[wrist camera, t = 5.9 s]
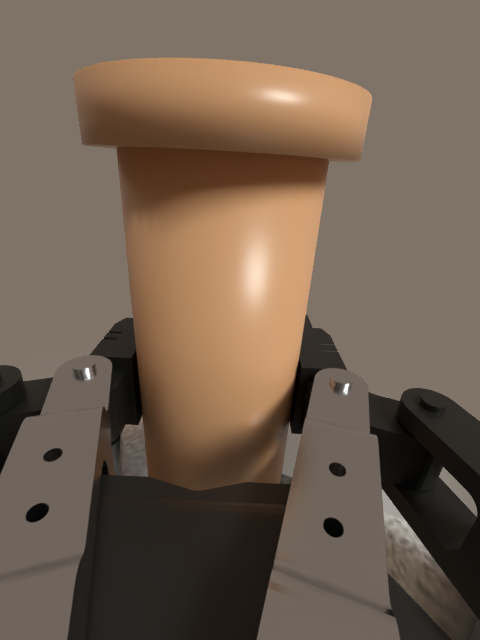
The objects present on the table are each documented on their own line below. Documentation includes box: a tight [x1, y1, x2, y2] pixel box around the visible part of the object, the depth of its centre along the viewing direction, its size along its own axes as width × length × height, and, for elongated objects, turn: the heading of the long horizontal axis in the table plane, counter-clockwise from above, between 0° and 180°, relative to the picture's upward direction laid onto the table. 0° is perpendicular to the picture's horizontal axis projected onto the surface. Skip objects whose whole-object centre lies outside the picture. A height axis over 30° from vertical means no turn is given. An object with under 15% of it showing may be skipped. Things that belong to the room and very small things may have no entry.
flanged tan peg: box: [73, 58, 372, 491], centre depth 11 cm, size 6×6×21 cm
